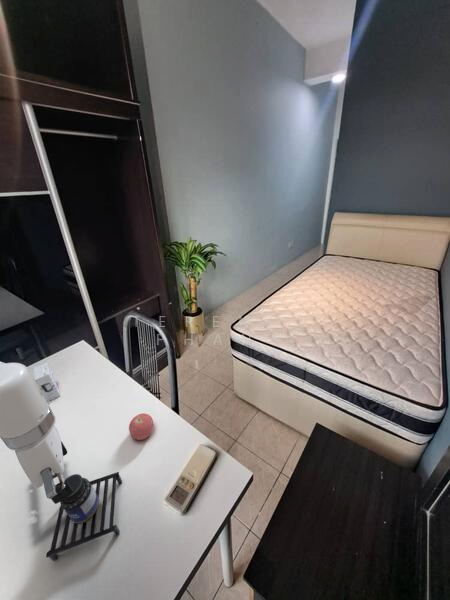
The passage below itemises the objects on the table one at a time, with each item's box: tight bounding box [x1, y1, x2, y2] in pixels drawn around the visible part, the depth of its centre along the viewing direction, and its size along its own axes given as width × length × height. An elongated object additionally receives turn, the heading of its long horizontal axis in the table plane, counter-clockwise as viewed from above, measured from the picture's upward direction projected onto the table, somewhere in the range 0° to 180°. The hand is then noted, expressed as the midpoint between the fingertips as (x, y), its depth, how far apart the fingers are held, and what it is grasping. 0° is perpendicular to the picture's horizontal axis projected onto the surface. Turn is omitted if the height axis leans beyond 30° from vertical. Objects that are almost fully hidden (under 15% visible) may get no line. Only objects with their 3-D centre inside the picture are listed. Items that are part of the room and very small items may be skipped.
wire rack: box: [45, 471, 123, 562], centre depth 61 cm, size 14×13×5 cm
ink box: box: [32, 362, 61, 402], centre depth 96 cm, size 9×5×12 cm, turn 37°
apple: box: [128, 413, 154, 441], centre depth 79 cm, size 7×7×8 cm
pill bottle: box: [59, 473, 100, 525], centre depth 57 cm, size 6×6×11 cm
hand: (62, 475), depth 52 cm, fingers open, 9 cm apart
